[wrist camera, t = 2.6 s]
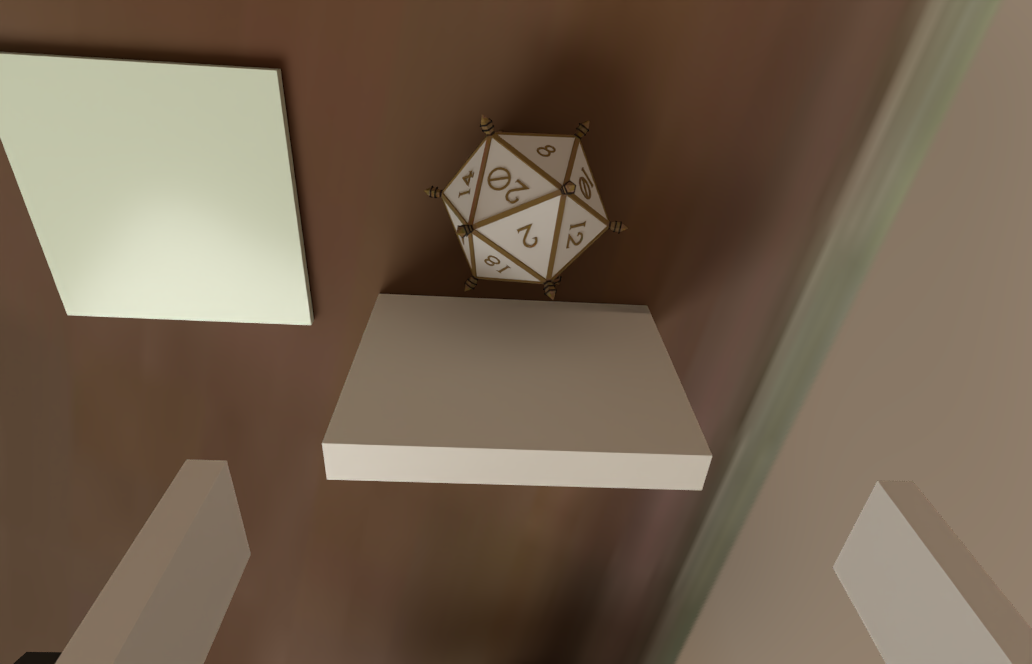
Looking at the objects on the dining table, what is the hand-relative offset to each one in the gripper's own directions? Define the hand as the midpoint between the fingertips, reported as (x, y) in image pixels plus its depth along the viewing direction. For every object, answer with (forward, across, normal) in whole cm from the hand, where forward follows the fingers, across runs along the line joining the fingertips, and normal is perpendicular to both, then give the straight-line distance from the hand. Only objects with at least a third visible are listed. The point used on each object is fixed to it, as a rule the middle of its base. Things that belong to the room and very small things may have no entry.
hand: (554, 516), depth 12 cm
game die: (+23, 0, 0) cm, 23 cm away
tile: (+23, +19, +2) cm, 30 cm away
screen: (+23, 0, +10) cm, 25 cm away
